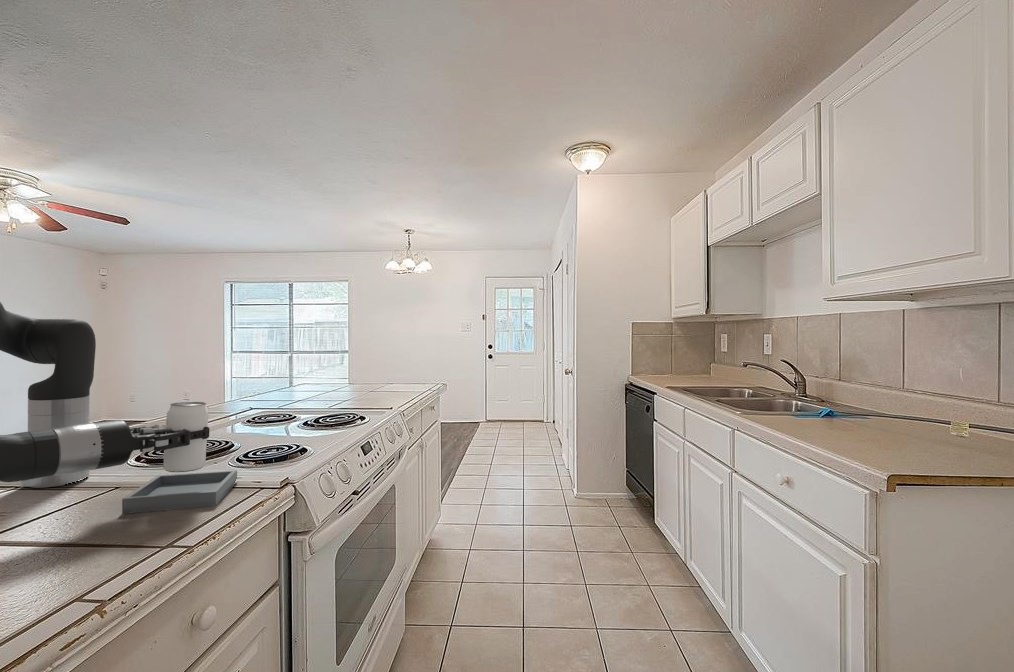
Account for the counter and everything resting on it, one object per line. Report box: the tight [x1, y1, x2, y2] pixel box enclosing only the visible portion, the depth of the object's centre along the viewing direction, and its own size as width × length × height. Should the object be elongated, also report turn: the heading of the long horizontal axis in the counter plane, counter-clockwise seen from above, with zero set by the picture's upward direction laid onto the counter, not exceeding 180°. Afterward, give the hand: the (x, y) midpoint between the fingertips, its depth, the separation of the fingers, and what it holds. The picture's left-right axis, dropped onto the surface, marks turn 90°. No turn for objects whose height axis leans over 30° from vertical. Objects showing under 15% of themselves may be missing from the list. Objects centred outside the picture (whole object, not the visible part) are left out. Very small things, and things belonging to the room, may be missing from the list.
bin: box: [121, 469, 238, 514], centre depth 89 cm, size 14×14×2 cm
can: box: [163, 401, 209, 473], centre depth 88 cm, size 6×6×12 cm
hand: (198, 430), depth 91 cm, fingers closed on can, 5 cm apart
